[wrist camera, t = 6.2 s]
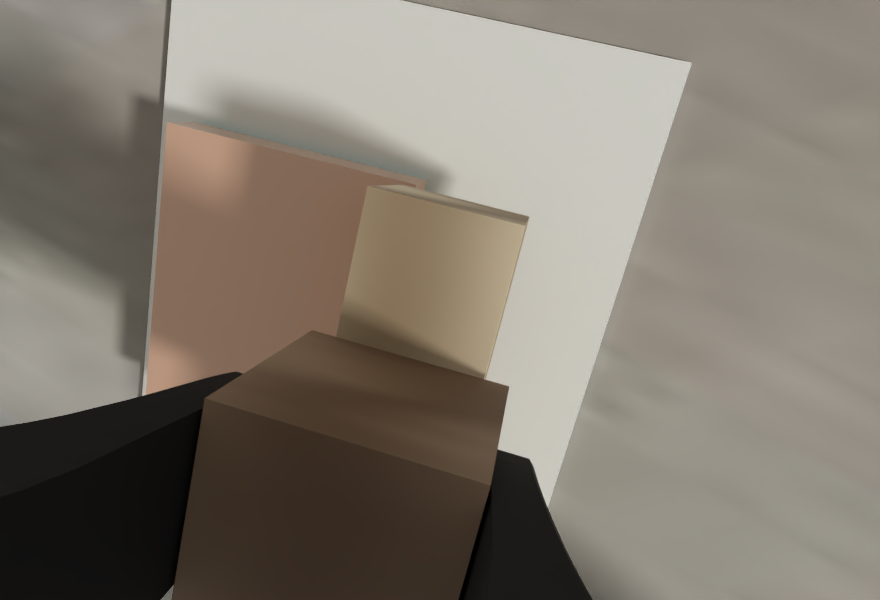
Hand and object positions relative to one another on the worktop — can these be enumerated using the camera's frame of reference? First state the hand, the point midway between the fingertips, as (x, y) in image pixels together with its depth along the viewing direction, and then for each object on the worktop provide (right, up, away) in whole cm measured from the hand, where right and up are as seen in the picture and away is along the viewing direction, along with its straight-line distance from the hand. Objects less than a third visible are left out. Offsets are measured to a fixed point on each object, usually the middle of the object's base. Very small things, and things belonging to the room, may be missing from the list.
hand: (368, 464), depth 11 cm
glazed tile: (0, +2, +6) cm, 6 cm away
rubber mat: (-1, +3, +7) cm, 8 cm away
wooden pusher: (+1, 0, +5) cm, 5 cm away
